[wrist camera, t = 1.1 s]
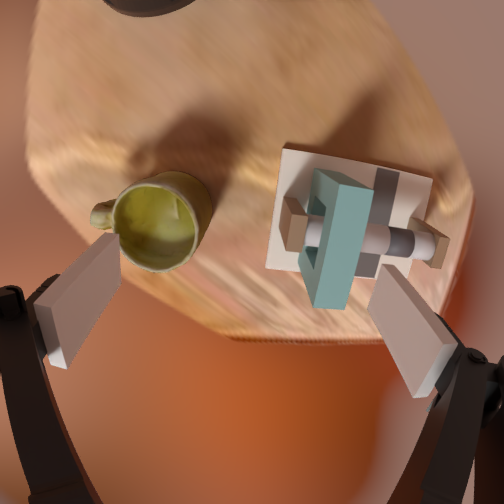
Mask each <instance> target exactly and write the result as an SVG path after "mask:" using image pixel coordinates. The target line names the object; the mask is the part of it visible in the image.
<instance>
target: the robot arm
mask: <svg viewBox="0 0 504 504" xmlns="http://www.w3.org/2000/svg"><path fill="white" fill-rule="evenodd" d="M103 1H104V2H105V3H106V4H107V5H109V6H110V7H111V8H112V9H114V10H115V11H117V12H119V13H121V14H124V15H128V16H133V17H153V16H159V15H163V14H167V13H170V12H173V11H176V10H178V9H181V8H183V7H185V6H187V5H188V4H190V3H192V2H193V1H195V0H103ZM120 285H121V269H120V248H119V234H115V233H106V232H105V233H104V234H103V235H102V236H101V237H100V238H99V239H97V240H96V241H95V242H94V243H93V244H92V245H91V246H90V247H89V248H88V249H87V250H86V251H85V252H84V253H83V254H81V255H80V256H79V258H77V259H76V260H75V261H74V262H73V263H72V264H71V265H70V266H69V267H68V268H67V269H66V270H65V271H64V272H63V273H62V274H61V275H60V274H56V275H54V276H52V277H50V278H48V279H47V280H46V281H44V283H42V284H41V287H39V288H37V290H36V292H33V294H32V295H31V296H30V297H29V298H28V299H27V300H26V301H25V299H24V295H23V291H22V289H21V288H20V287H18V286H14V285H9V286H4V287H1V288H0V374H1V376H2V382H3V389H4V395H5V400H6V405H7V410H8V415H9V419H10V423H11V428H12V432H13V436H14V440H15V444H16V447H17V451H18V454H19V458H20V461H21V464H22V467H23V470H24V474H25V476H26V479H27V482H28V485H29V488H30V491H31V495H30V496H29V497H28V501H29V504H103V502H102V501H101V499H100V497H99V495H98V493H97V492H96V490H95V488H94V486H93V484H92V482H91V481H90V479H89V477H88V475H87V473H86V471H85V469H84V467H83V465H82V463H81V460H80V459H79V456H78V454H77V452H76V450H75V448H74V445H73V443H72V441H71V438H70V436H69V434H68V431H67V429H66V426H65V424H64V421H63V419H62V416H61V414H60V411H59V408H58V406H57V403H56V400H55V397H54V394H53V391H52V389H51V386H50V382H49V379H48V376H47V373H46V370H45V366H44V363H43V358H44V357H45V355H46V354H47V355H48V358H49V361H50V364H51V365H53V366H57V367H61V368H64V369H68V368H69V366H70V364H71V362H72V361H73V359H74V357H75V356H76V354H77V352H78V351H79V349H80V347H81V345H82V344H83V342H84V341H85V339H86V338H87V336H88V334H89V333H90V331H91V330H92V328H93V326H94V325H95V323H96V321H97V320H98V318H99V317H100V315H101V314H102V312H103V311H104V309H105V308H106V306H107V304H108V303H109V301H110V300H111V298H112V297H113V295H114V294H115V292H116V291H117V289H118V288H119V286H120ZM367 310H368V312H369V314H370V315H371V317H372V319H373V321H374V323H375V325H376V326H377V328H378V330H379V332H380V334H381V336H382V338H383V340H384V341H385V343H386V345H387V347H388V349H389V351H390V353H391V355H392V357H393V359H394V361H395V363H396V365H397V367H398V369H399V371H400V373H401V375H402V377H403V378H404V381H405V383H406V385H407V387H408V389H409V391H410V393H411V395H412V397H413V398H419V397H427V396H428V395H429V394H430V392H431V390H432V389H433V387H434V386H435V387H436V389H437V391H438V393H437V395H436V396H435V398H434V399H433V401H432V402H431V404H430V405H429V407H428V408H427V410H426V411H427V412H428V411H429V410H430V411H429V414H428V416H427V419H426V422H425V424H424V427H423V430H422V432H421V434H420V436H419V439H418V441H417V444H416V446H415V448H414V451H413V453H412V455H411V457H410V459H409V461H408V463H407V465H406V468H405V470H404V472H403V474H402V476H401V478H400V480H399V482H398V484H397V486H396V488H395V490H394V491H393V493H392V495H391V497H390V499H389V500H388V502H387V504H462V499H463V496H464V493H465V490H466V486H467V483H468V479H469V475H470V472H471V468H472V464H473V460H474V459H475V480H474V504H504V355H503V356H502V357H501V359H500V361H499V362H498V364H494V363H489V362H488V360H487V358H486V357H485V355H484V354H483V353H481V352H480V351H478V350H476V349H473V348H466V347H465V346H464V345H463V344H462V342H461V341H460V340H459V338H458V337H457V336H456V335H455V333H454V332H453V331H452V329H451V328H450V327H448V324H447V323H446V322H445V320H444V319H443V318H442V317H440V316H439V315H438V314H436V313H435V312H433V311H432V309H431V308H430V307H429V306H428V304H427V303H426V302H425V301H424V299H423V298H422V297H421V296H420V295H419V293H418V292H417V291H416V290H415V289H414V287H413V286H412V285H411V284H410V283H409V281H408V280H407V279H406V278H405V277H404V276H403V274H402V273H401V272H400V271H399V270H398V269H397V268H396V266H395V265H391V264H381V267H380V271H379V274H378V277H377V280H376V283H375V287H374V290H373V293H372V296H371V299H370V302H369V305H368V308H367ZM500 405H501V407H500V409H499V406H500Z"/></svg>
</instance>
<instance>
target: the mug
mask: <svg viewBox="0 0 504 504" xmlns="http://www.w3.org/2000/svg"><path fill="white" fill-rule="evenodd" d="M211 217H212V204H211V199H210V195H209V193H208V191H207V190H206V188H205V187H204V185H203V184H202V183H201V182H200V181H198V180H197V179H196V178H194V177H193V176H191V175H189V174H186V173H183V172H178V171H167V172H163V173H160V174H157V175H156V176H154V177H150V178H145V179H142V180H139V181H137V182H135V183H133V184H132V185H130V186H129V187H127V188H126V189H125V190H124V191H123V192H121V194H120V195H119V196H118V198H117V199H113V200H109V201H107V202H102V203H98V204H97V205H96V206H95V207H94V208H93V210H92V211H91V217H90V224H91V225H92V226H94V227H96V228H98V229H103V230H106V229H110V228H112V230H113V233H115V234H119V248H120V251H121V252H122V254H123V255H124V257H125V258H127V259H128V260H129V261H130V262H131V263H133V264H134V265H136V266H138V267H140V268H141V269H143V270H146V271H149V272H153V273H166V272H170V271H171V270H174V269H176V268H178V267H180V266H181V265H184V264H185V263H186V262H187V261H188V260H189V259H190V258H191V257H192V256H193V254H194V252H195V251H196V249H197V248H198V246H199V245H200V242H201V241H202V239H203V237H204V234H205V232H206V230H207V228H208V226H209V224H210V221H211Z"/></svg>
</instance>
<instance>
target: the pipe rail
mask: <svg viewBox="0 0 504 504" xmlns="http://www.w3.org/2000/svg"><path fill="white" fill-rule="evenodd" d="M314 168H319V169H325V170H331V171H337V172H341V173H343V174H345V175H347V176H349V177H351V178H352V179H354V180H356V181H358V182H360V183H362V184H363V185H365V186H367V187H369V188H371V189H373V190H374V194H373V198H372V203H371V208H370V212H369V217H368V221H367V226H366V230H365V234H364V239H363V243H362V247H361V251H360V255H359V259H358V263H357V267H356V270H355V274H354V277H357V278H367V279H377V277H378V274H379V271H380V267H381V264H391V265H395V266H396V268H397V269H398V270H399V271H400V272H401V273H402V274H403V276H404V277H405V278H406V279H407V277H408V274H409V271H410V267H411V264H412V261H413V259H420V260H423V261H424V262H425V263H426V264H427V265H428V266H429V267H430V268H437V269H441V267H442V264H443V261H444V258H445V255H446V252H447V248H448V245H449V242H450V238H448V237H447V236H445V235H444V234H442V233H441V232H439V231H438V230H436V229H435V228H433V227H432V226H430V225H429V224H427V223H426V222H424V217H425V213H426V209H427V205H428V201H429V196H430V192H431V187H432V182H433V179H431V178H428V177H424V176H420V175H416V174H412V173H408V172H404V171H400V170H396V169H392V168H387V167H383V166H378V165H374V164H369V163H364V162H360V161H355V160H350V159H344V158H339V157H334V156H328V155H322V154H317V153H311V152H305V151H298V150H292V149H285V148H282V154H281V161H280V168H279V175H278V182H277V189H276V196H275V203H274V209H273V216H272V223H271V230H270V236H269V243H268V250H267V256H266V263H265V268H267V269H277V270H287V271H296V272H301V271H300V268H299V265H298V257H299V253H302V248H303V245H305V246H314V247H319V243H320V238H321V233H322V228H323V223H324V217H325V216H318V215H311V214H306V213H307V207H308V202H309V196H310V190H311V184H312V178H313V171H314Z"/></svg>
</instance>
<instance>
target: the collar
mask: <svg viewBox="0 0 504 504" xmlns="http://www.w3.org/2000/svg"><path fill="white" fill-rule="evenodd" d="M373 194H374V190H373V189H371V188H369V187H367V186H365V185H363V184H362V183H360V182H358V181H356V180H354V179H352V178H351V177H349V176H347V175H345V174H343V173H341V172H337V171H331V170H325V169H319V168H314V171H313V178H312V184H311V190H310V196H309V202H308V207H307V213H306V214H311V215H318V216H325V217H324V223H323V228H322V233H321V238H320V243H319V247H314V246H305V245H303V248H302V253H299V257H298V265H299V268H300V271H301V274H302V277H303V280H304V283H305V285H306V288H307V291H308V294H309V297H310V300H311V303H312V306H313V308H324V309H338V310H345V306H346V303H347V299H348V296H349V292H350V289H351V285H352V282H353V278H354V274H355V270H356V267H357V263H358V259H359V255H360V251H361V247H362V243H363V239H364V234H365V230H366V226H367V221H368V217H369V212H370V208H371V203H372V198H373Z"/></svg>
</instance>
